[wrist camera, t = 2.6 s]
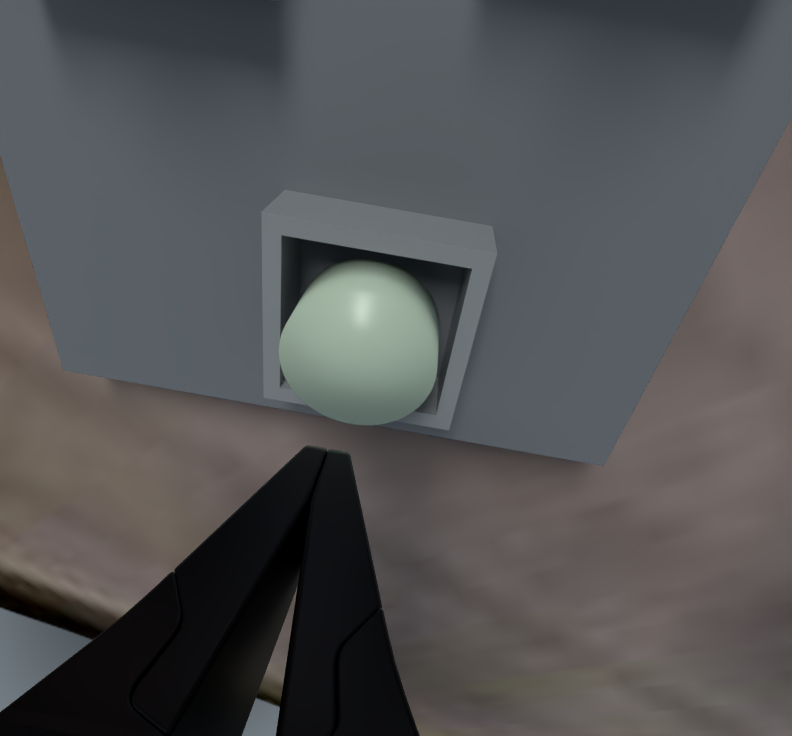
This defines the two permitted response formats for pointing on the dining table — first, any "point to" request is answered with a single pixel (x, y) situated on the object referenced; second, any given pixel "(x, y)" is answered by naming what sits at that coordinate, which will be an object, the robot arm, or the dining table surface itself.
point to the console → (390, 186)
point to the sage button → (362, 343)
